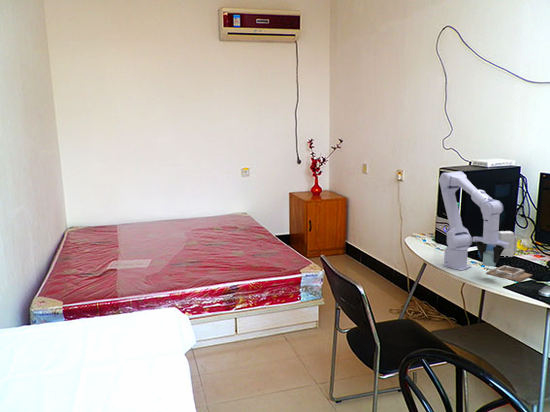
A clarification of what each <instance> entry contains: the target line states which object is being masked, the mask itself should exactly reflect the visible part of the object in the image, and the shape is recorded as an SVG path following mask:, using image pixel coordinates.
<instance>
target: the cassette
mask: <svg viewBox="0 0 550 412" xmlns="http://www.w3.org/2000/svg"><path fill="white" fill-rule="evenodd" d="M495 247H496V246H495ZM517 250H518V237H517V236H514V247H513V253H517Z"/></svg>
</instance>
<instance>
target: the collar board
mask: <svg viewBox="0 0 550 412" xmlns="http://www.w3.org/2000/svg"><path fill="white" fill-rule="evenodd" d="M486 274H487V275H490V276H492V277H496V278H502V279H505V280H509V281H513V282H517V283H521V282H523V281H525V280H527V279H528V278H531V277H533V273H532V274H531V273H527V272H525V269H522V268H518V267H512V266H509V265H502V266H499V267H496V268H493V269H491V270H489V271H487V272H486Z"/></svg>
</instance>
